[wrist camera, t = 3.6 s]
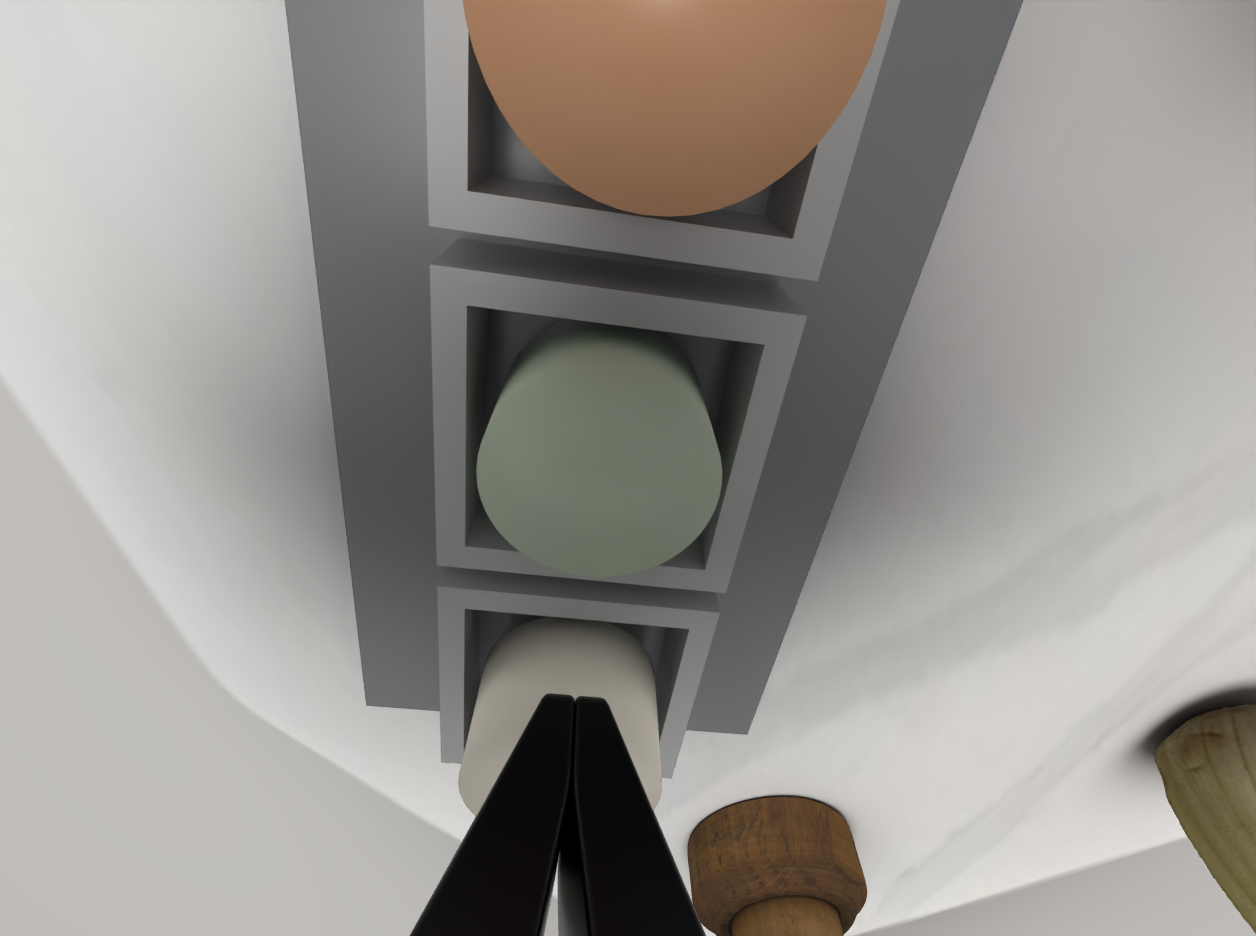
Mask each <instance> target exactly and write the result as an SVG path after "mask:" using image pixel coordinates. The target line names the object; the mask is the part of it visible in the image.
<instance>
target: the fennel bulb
mask: <svg viewBox="0 0 1256 936" xmlns="http://www.w3.org/2000/svg"><path fill="white" fill-rule="evenodd" d="M1154 757H1155V762H1156V764H1157V767H1158V769H1159V772H1160V774H1161V776H1162V779H1163V782H1164V787H1165V792H1166V797H1167V799H1168V802H1169V804H1170V805H1171V807H1172V809H1173V811H1174V813H1175V815H1176V817H1177V818H1178V820H1179V822H1180V825H1181V826H1182V828H1183V830H1184V832H1185V833H1186V835H1187V837H1188V838H1189V839H1190V841H1191V842H1192V844H1193V846H1194V847H1195V849H1196V850H1197V852H1198V854H1199V856H1200V857H1201V858H1202V859H1203V861H1204V862H1205V864H1206V865H1207V868H1208V869H1209V871H1210V872H1211V874H1212V876H1213V878H1214V879H1216V881H1217V883H1218V884H1219V885H1220V887H1221V888H1222V890H1223V891H1224V892H1225V893H1226V895H1227V896H1228V898H1229V899H1230V900H1231V902H1232V903H1233V904H1234V906H1235V907H1236V909H1237V910H1238V911H1239V912H1240V913H1241V915H1242V917H1243V918H1244V919H1245V921H1247V922H1248V924H1249V925H1250V926H1251V927H1252V929H1253V930H1254V932H1255V933H1256V704H1252V705H1249V704H1243V705H1238V706H1235V707H1224V708H1222V709H1220V710H1213V711H1210V712H1206V713H1204V714H1201V715H1198V716H1196V717H1194V718H1192V719H1190V720H1187V721H1186V722H1185V723H1184V724H1183V725H1181V726H1180V727H1179V728H1178V729H1176V730H1175V731H1174V732H1173V733H1172V734H1171V735H1170V736H1168V737H1167V738H1166V739H1165V740H1164V741H1163V742H1162V743H1161V745H1160V746H1159V747H1158V748H1157V750H1156V752H1155V754H1154Z"/></svg>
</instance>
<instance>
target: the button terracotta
mask: <svg viewBox="0 0 1256 936" xmlns="http://www.w3.org/2000/svg"><path fill="white" fill-rule="evenodd" d="M886 4H887V0H463V7H464V13H465V19H466V23H467V27H468V31H469V35H470V38H471V42H472V46H473V50H474V53H475V56H476V58H477V61H478V64H479V66H480V69H481V71H482V74H483V77H484V79H485V82H486V84H487V86H488V88H489V90H490V92H491V94H492V96H493V98H494V100H495V102H496V104H497V105H498V107H499V109H500V111H501V113H502V114H503V116H504V117H505V119H506V120H507V122H508V123H509V125H510V126H511V128H512V129H513V131H514V132H515V134H516V135H517V136H518V137H519V139H520V140H521V141H522V142H523V143H524V145H525V146H526V147H527V148H528V149H529V150H530V152H531V153H532V154H533V155H534V156H535V157H536V158H537V159H538V160H539V161H540V162H541V163H542V164H543V165H544V166H545V167H547V168H548V169H549V170H550V171H551V172H552V173H553V174H554V175H556V176H557V177H558V178H560V179H561V180H562V181H564V182H565V183H567V184H568V185H569V186H571V187H572V188H574V189H575V190H577V191H579V192H581V193H583V194H584V195H586V196H588V197H590V198H592V199H594V200H596V201H598V202H600V203H603V204H606V205H608V206H611V207H614V208H617V209H619V210H623V211H628V212H632V213H637V214H641V215H650V216H663V217H672V216H688V215H695V214H700V213H705V212H710V211H715V210H718V209H721V208H723V207H726V206H729V205H732V204H735V203H738V202H740V201H742V200H744V199H746V198H748V197H750V196H752V195H754V194H756V193H758V192H760V191H762V190H763V189H765V188H766V187H768V186H769V185H771V184H772V183H774V182H775V181H777V180H778V179H780V178H781V177H783V176H784V175H785V174H786V173H787V172H789V171H790V170H791V169H792V168H793V167H794V166H796V165H797V164H798V163H799V162H800V161H801V160H803V159H804V158H805V157H806V156H807V154H808V153H809V152H810V151H811V150H812V149H813V148H814V147H815V146H816V145H817V144H818V143H819V142H820V140H821V139H822V138H823V137H824V136H825V135H826V133H827V132H828V130H829V129H830V128H831V126H832V125H833V124H834V122H835V121H836V120H837V118H838V117H839V116H840V114H841V113H842V111H843V109H844V108H845V106H846V104H847V103H848V101H849V99H850V98H851V96H852V94H853V93H854V91H855V89H856V87H857V86H858V83H859V81H860V79H861V77H862V75H863V72H864V70H865V68H866V66H867V64H868V62H869V59H870V57H871V54H872V52H873V49H874V46H875V43H876V40H877V37H878V34H879V31H880V28H881V25H882V21H883V17H884V13H885V8H886Z"/></svg>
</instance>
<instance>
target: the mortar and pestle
mask: <svg viewBox="0 0 1256 936" xmlns="http://www.w3.org/2000/svg"><path fill="white" fill-rule="evenodd" d="M688 863H689V872H690V881H691V892H692V902H693V906H694V908H695V911H696V913H697V916H698V918H699V920H700V922H701V923H702V924H703V926H705V927H706V928H707V929H708V930H710V931H711V932H713V933H714V934H716V935H717V936H843V935H844V934H845V933H846V932H847V931H848V930H849V929H850V927H851V926H852V924H853V923H854V921H855V918H856V916H857V914H858V913H859V912H860V911H861V909H862V908H863V906H864V904H865V901H866V898H867V887H866V882H865V878H864V874H863V871H862V868H861V864H860V861H859V858H858V854H857V851H856V847H855V843H854V840H853V836H852V833H851V831H850V828H849V826H848V824H847V822H846V821H845V819H844V818H843V817H842V816H841V815H840V814H839V813H838V812H836V811H835V810H833V809H831V808H830V807H828V806H826V805H824V804H822V803H819V802H816V801H813V800H809V799H805V798H798V797H769V798H761V799H755V800H750V801H745V802H741V803H738V804H735V805H732V806H729V807H726V808H724V809H722V810H720V811H718V812H716V813H714V814H713V815H711V816H710V817H708V818H707V819H705V820H704V821H703V822H702V823H701V824H700V825H698V827H697V828H696V829H695V830H694V832H693V833H692V835H691V837H690V840H689V843H688Z"/></svg>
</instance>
